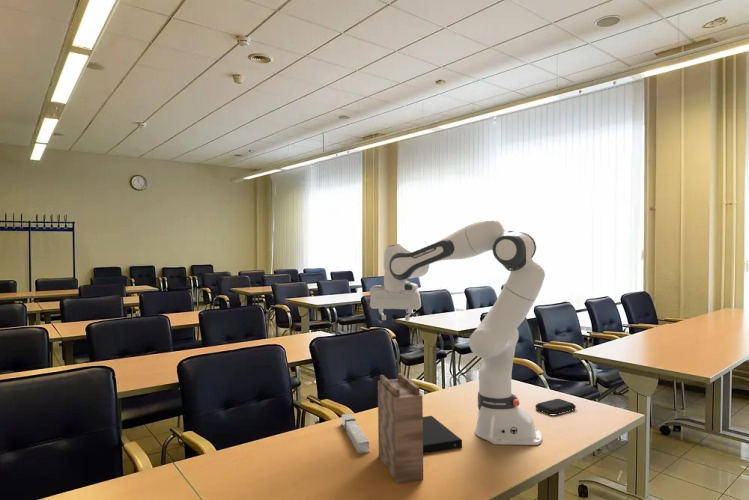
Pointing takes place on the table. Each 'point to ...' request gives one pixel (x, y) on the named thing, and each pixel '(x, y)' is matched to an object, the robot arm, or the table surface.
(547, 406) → the black microchip
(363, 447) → the bar
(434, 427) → the external hard drive
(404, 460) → the block
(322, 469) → the table surface
